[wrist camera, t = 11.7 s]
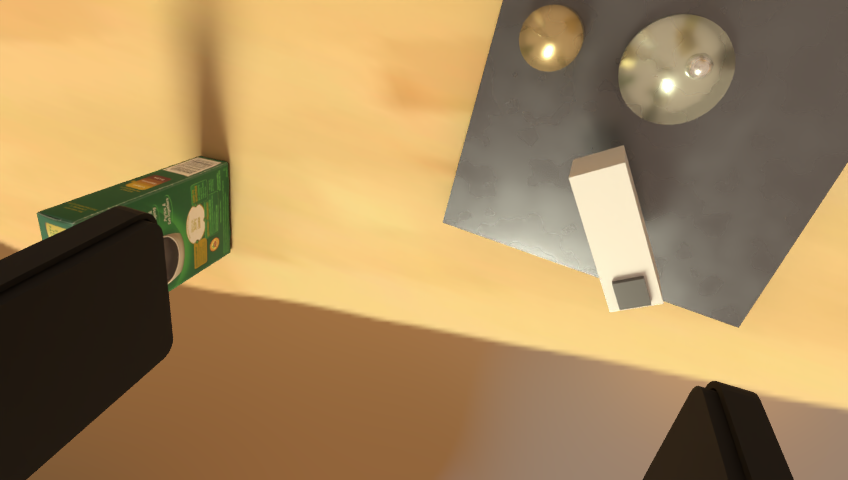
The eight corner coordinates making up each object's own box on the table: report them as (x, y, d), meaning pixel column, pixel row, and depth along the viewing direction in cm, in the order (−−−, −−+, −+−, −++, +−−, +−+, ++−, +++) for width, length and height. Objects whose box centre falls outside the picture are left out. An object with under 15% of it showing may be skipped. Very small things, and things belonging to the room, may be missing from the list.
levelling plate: (451, 211, 34) (435, 232, 31) (584, -268, 23) (579, -309, 20) (731, 309, 31) (744, 343, 28) (1049, -190, 20) (1132, -225, 16)
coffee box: (198, 148, 39) (28, 211, 27) (230, 158, 38) (71, 225, 27) (203, 242, 42) (55, 331, 31) (233, 252, 42) (93, 346, 31)
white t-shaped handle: (576, 146, 28) (568, 180, 23) (622, 132, 27) (625, 164, 22) (610, 260, 30) (609, 315, 25) (654, 251, 29) (664, 306, 24)
